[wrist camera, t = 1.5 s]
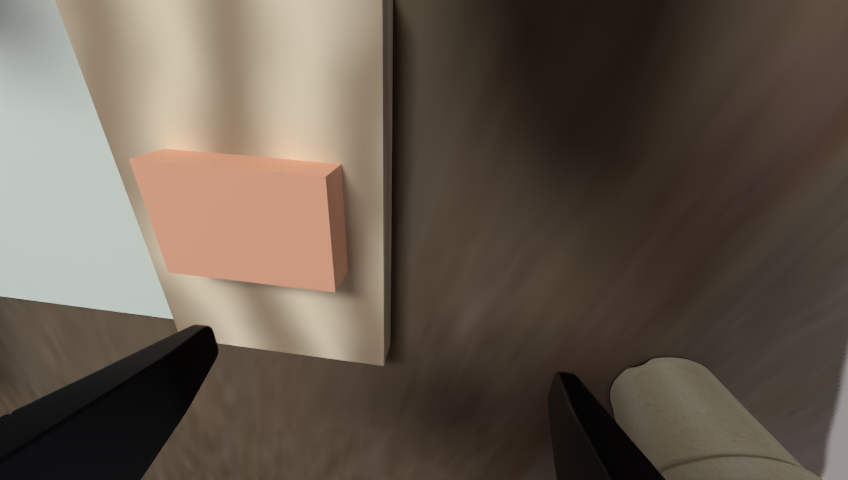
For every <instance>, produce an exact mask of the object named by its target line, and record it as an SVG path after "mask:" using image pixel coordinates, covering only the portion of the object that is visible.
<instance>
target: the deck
mask: <svg viewBox="0 0 848 480" xmlns="http://www.w3.org/2000/svg"><path fill="white" fill-rule="evenodd" d="M55 2H56V4H57V7H58V10H59V12H60V15H61V18H62V20H63V23H64V26H65V28H66V31H67V34H68V36H69V39H70V42H71V45H72V47H73V50H74V53H75V55H76V58H77V61H78V63H79V66H80V69H81V71H82V74H83V77H84V80H85V82H86V85H87V88H88V90H89V93H90V96H91V98H92V101H93V104H94V106H95V109H96V112H97V115H98V117H99V120H100V123H101V125H102V128H103V131H104V133H105V136H106V139H107V141H108V144H109V147H110V149H111V152H112V155H113V158H114V160H115V163H116V166H117V168H118V171H119V174H120V176H121V179H122V182H123V184H124V187H125V190H126V193H127V195H128V198H129V201H130V203H131V206H132V209H133V211H134V214H135V217H136V219H137V222H138V225H139V227H140V230H141V233H142V236H143V238H144V241H145V244H146V246H147V249H148V252H149V254H150V257H151V260H152V262H153V265H154V268H155V271H156V273H157V276H158V279H159V281H160V284H161V287H162V289H163V292H164V295H165V297H166V300H167V303H168V305H169V308H170V311H171V314H172V316H173V319H174V322H175V324H176V327H177V330H178V332H179V331H181V330H183V329H185V328H187V327H190V326H192V325H195V324H198V325H206V326H210V327H211V328H212V329H213V332H214V335H215V338H216V342H217V343H220V344H227V345H234V346H242V347H249V348H256V349H263V350H271V351H278V352H285V353H293V354H300V355H307V356H314V357H322V358H329V359H336V360H344V361H351V362H358V363H366V364H373V365H380V366H384V364H385V361H386V357H387V354H388V350H389V347H390V342H391V214H392V85H393V0H55ZM161 149H176V150H187V151H198V152H210V153H221V154H233V155H244V156H256V157H267V158H279V159H290V160H302V161H313V162H324V163H336V164H341V166H342V182H343V198H344V214H345V230H346V247H347V263H348V272H347V274H346V275H345V277H344V279H343V280H342V282H341V284H340V286H339V287H338V289H337V291H336V292H326V291H318V290H310V289H301V288H293V287H285V286H276V285H268V284H260V283H252V282H243V281H235V280H227V279H218V278H210V277H202V276H193V275H185V274H177V273H169V272H168V269H167V266H166V264H165V261H164V258H163V255H162V252H161V249H160V246H159V244H158V241H157V238H156V235H155V232H154V229H153V227H152V224H151V221H150V218H149V215H148V212H147V210H146V207H145V204H144V201H143V198H142V195H141V192H140V190H139V187H138V184H137V181H136V178H135V175H134V173H133V170H132V167H131V164H130V161H129V159H130V158H134V157H137V156H140V155H144V154H147V153H151V152H154V151H157V150H161Z"/></svg>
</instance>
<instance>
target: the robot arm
mask: <svg viewBox="0 0 848 480" xmlns="http://www.w3.org/2000/svg"><path fill="white" fill-rule="evenodd" d="M217 355H218V345H217V342H216V338H215V335H214V332H213V329H212V328H211V327H210V326H206V325H198V324H195V325H192V326H190V327H187V328H185V329H183V330H181V331H179V332H177V333H175V334H173V335H171V336H169V337H167V338H165V339H162V340H160V341H158V342H156V343H154V344H152V345H150V346H148V347H146V348H144V349H142V350H139V351H137V352H135V353H133V354H131V355H129V356H127V357H125V358H123V359H121V360H119V361H116V362H114V363H112V364H110V365H108V366H106V367H104V368H102V369H100V370H98V371H96V372H93V373H91V374H89V375H87V376H85V377H83V378H81V379H79V380H77V381H75V382H73V383H70V384H68V385H66V386H64V387H62V388H60V389H58V390H56V391H54V392H52V393H50V394H47V395H45V396H43V397H41V398H39V399H37V400H35V401H33V402H31V403H29V404H27V405H24V406H22V407H20V408H18V409H16V410H14V411H13V412H12V413H11V414H10V413H8V414H5V415H3V416H1V417H0V480H141V478H142V477H143V475H144V474H145V472H146V471H147V470H148V468H149V467H150V465H151V464H152V462H153V461H154V459H155V458H156V456H157V455H158V453H159V452H160V450H161V449H162V447H163V446H164V444H165V443H166V442H167V440H168V439H169V437H170V436H171V434H172V433H173V431H174V430H175V428H176V427H177V425H178V424H179V422H180V421H181V419H182V418H183V416H184V415H185V413H186V412H187V410H188V408H189V406H190V405H191V403H192V401H193V400H194V398H195V396H196V394H197V392H198V390H199V389H200V387H201V385H202V383H203V381H204V380H205V378H206V376H207V374H208V372H209V371H210V369H211V367H212V365H213V363H214V362H215V360H216V358H217ZM548 405H549V415H550V425H551V435H552V444H553V454H554V463H555V470H556V476H557V480H666V479H665V478H664V477H663V476H662V475H661V473H660V472H659V471H658V470H657V469H656V468H655V466H654V465H653V464H652V463H651V462H650V461H649V459H648V458H647V457H646V456H645V455H644V454H643V453H642V451H641V450H640V449H639V448H638V447H637V446H636V444H635V443H634V442H633V441H632V440H631V439H630V437H629V436H628V435H627V434H626V433H625V432H624V430H623V429H622V428H621V427H620V426H619V425H618V424H617V422H616V421H615V420H614V419H613V418H612V417H611V415H610V414H609V413H608V412H607V411H606V410H605V408H604V407H603V406H602V405H601V404H600V403H599V401H598V400H597V399H596V398H595V397H594V396H593V395H592V393H591V392H590V391H589V390H588V389H587V388H586V386H585V385H584V384H583V383H582V382H581V381H580V379H579V378H578V377H577V376H576V375H575V374H573V373H567V372H560V371H559V372H557V373H556V374H555V376H554V379H553V382H552V385H551V388H550V392H549V396H548Z"/></svg>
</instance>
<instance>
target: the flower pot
mask: <svg viewBox="0 0 848 480" xmlns="http://www.w3.org/2000/svg"><path fill="white" fill-rule="evenodd" d="M610 399H611V404H612V407H613V411H614V415H615V420H616V422H617V424H618V425H619V426H620V427H621V428H622V429H623V430H624V432H625V433H626V434H627V435H628V436H629V437H630V439H631V440H632V441H633V442H634V443H635V444H636V446H637V447H638V448H639V449H640V450H641V451H642V453H643V454H644V455H645V456H646V457H647V458H648V459H649V461H650V462H651V463H652V464H653V465H654V466H655V468H656V469H657V470H658V471H659V472H660V473H661V475H662V476H663V477H664V478H665V479H666V480H822V479H821V478H819V477H818V476H816V475H815V474H813V473H812V472H810V471H808V470H806V469H804V468H803V467H802V466H801V464H800V463H799V462H798V461H797V460H796V459H795V458H794V457H793V456H792V455H791V454H790V453H789V452H788V451H787V450H786V449H785V448H784V447H783V446H782V445H781V444H780V443H779V442H778V441H777V440H776V439H775V438H774V437H773V436H772V435H771V434H770V433H769V432H768V431H767V430H766V429H765V428H764V427H763V426H762V425H761V424H760V423H759V422H758V421H757V420H756V419H755V418H754V417H753V416H752V415H751V414H750V413H749V412H748V411H747V409H746V408H745V407H744V406H743V405H742V404H741V403H740V402H739V401H738V400H737V399H736V398H735V397H734V396H733V395H732V394H731V393H730V392H729V391H728V390H727V389H726V388H725V386H724V385H723V384H722V383H721V382H720V381H719V380H718V379H717V378H716V377H715V376H714V374H712V373H711V372H710V371H709V370H708V369H707V368H706V367H704V366H703V365H701V364H699V363H697V362H694V361H691V360H688V359H683V358H674V357H662V358H654V359H651V360H649V361H648V362H647V363H645V364H643V365H641V366H638V367H632V368H627V369H626V370H624V371H623V372H622V373H621V374H620V375H619V376H618V377H617V378H616V380H615V381H614V383H613V385H612V387H611V391H610Z"/></svg>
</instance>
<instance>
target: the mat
mask: <svg viewBox="0 0 848 480" xmlns="http://www.w3.org/2000/svg"><path fill="white" fill-rule="evenodd" d="M0 296H2V297H10V298H17V299H25V300H33V301H40V302H48V303H55V304H63V305H70V306H78V307H85V308H93V309H101V310H108V311H116V312H123V313H131V314H138V315H146V316H153V317H161V318H169V319H173V316H172V314H171V311H170V308H169V305H168V303H167V300H166V297H165V295H164V292H163V289H162V287H161V284H160V281H159V279H158V276H157V273H156V271H155V268H154V265H153V262H152V260H151V257H150V254H149V252H148V249H147V246H146V244H145V241H144V238H143V236H142V233H141V230H140V227H139V225H138V222H137V219H136V217H135V214H134V211H133V209H132V206H131V203H130V201H129V198H128V195H127V193H126V190H125V187H124V184H123V182H122V179H121V176H120V174H119V171H118V168H117V166H116V163H115V160H114V158H113V155H112V152H111V149H110V147H109V144H108V141H107V139H106V136H105V133H104V131H103V128H102V125H101V123H100V120H99V117H98V115H97V112H96V109H95V106H94V104H93V101H92V98H91V96H90V93H89V90H88V88H87V85H86V82H85V80H84V77H83V74H82V71H81V69H80V66H79V63H78V61H77V58H76V55H75V53H74V50H73V47H72V45H71V42H70V39H69V36H68V34H67V31H66V28H65V26H64V23H63V20H62V18H61V15H60V12H59V10H58V7H57V4H56V2H55V0H0Z"/></svg>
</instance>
